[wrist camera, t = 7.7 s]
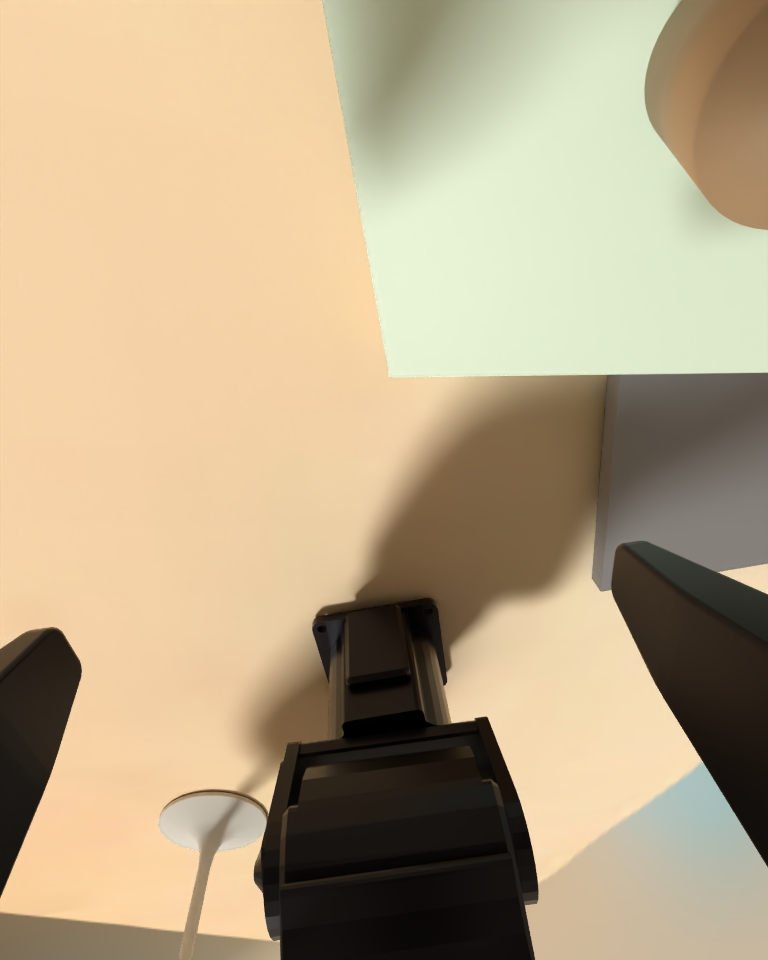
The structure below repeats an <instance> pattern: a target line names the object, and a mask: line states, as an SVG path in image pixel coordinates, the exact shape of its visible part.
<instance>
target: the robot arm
mask: <svg viewBox="0 0 768 960" xmlns="http://www.w3.org/2000/svg"><path fill="white" fill-rule="evenodd" d="M611 589H612V594H613V597H614V599H615V602H616V604H617V606H618V608H619V610H620V612H621V614H622V616H623V618H624V620H625V622H626V624H627V627H628V629H629V631H630V633H631V635H632V637H633V639H634V641H635V643H636V645H637V647H638V649H639V652H640V654H641V656H642V658H643V660H644V662H645V664H646V666H647V668H648V670H649V672H650V674H651V676H652V678H653V680H654V682H655V684H656V686H657V687H658V689H659V691H660V693H661V694H662V696H663V698H664V699H665V701H666V703H667V704H668V706H669V707H670V709H671V711H672V712H673V714H674V716H675V717H676V719H677V720H678V722H679V724H680V725H681V727H682V729H683V730H684V732H685V733H686V735H687V737H688V738H689V740H690V742H691V743H692V745H693V747H694V748H695V750H696V751H697V753H698V755H699V756H700V758H701V760H702V761H703V763H704V764H705V766H706V768H707V769H708V771H709V772H710V774H711V776H712V777H713V779H714V781H715V782H716V784H717V785H718V787H719V789H720V790H721V792H722V793H723V795H724V797H725V799H726V800H727V802H728V803H729V805H730V807H731V808H732V810H733V812H734V813H735V814H736V816H737V818H738V820H739V821H740V823H741V825H742V826H743V828H744V829H745V831H746V833H747V834H748V836H749V837H750V839H751V841H752V842H753V844H754V846H755V847H756V849H757V850H758V852H759V854H760V855H761V857H762V859H763V860H764V862H765V863H766V865H767V867H768V594H766V593H763V592H761V591H759V590H756V589H754V588H752V587H750V586H747V585H745V584H743V583H741V582H738V581H736V580H734V579H731V578H729V577H727V576H725V575H722V574H720V573H718V572H716V571H713V570H711V569H709V568H706V567H704V566H702V565H700V564H697V563H695V562H693V561H691V560H688V559H686V558H684V557H681V556H679V555H677V554H675V553H672V552H670V551H668V550H666V549H663V548H661V547H659V546H656V545H654V544H652V543H650V542H647V541H635V542H628V543H622V544H620V545H618V546H617V548H616V550H615V556H614V564H613V571H612V579H611ZM427 607H430V609H425V608H427ZM321 625H324V627H320V626H321ZM312 631H313V634H314V637H315V640H316V644H317V647H318V650H319V653H320V656H321V660H322V663H323V666H324V669H325V672H326V675H327V679H328V682H329V712H328V740H325V741H317V742H310V743H303V744H301V741H300V742H293V743H288V745H287V749H286V753H285V757H284V761H283V762H281V765H280V769H279V774H278V778H277V782H276V786H275V790H274V795H273V799H272V803H271V807H270V812H269V816H268V820H267V824H266V828H265V833H264V837H263V841H262V846H261V850H260V852H259V855H258V857H257V860H256V862H255V866H254V881H255V884H256V885H257V886H258V887H259V889H260V890H261V891H262V893H263V897H264V909H265V919H266V924H267V930H268V932H269V935H270V938H271V939H272V940H273V941H276V940H280V950H281V951H280V952H281V960H535V957H534V951H533V946H532V941H531V936H530V931H529V926H528V920H527V915H526V910H525V905H530V904H537V902H538V880H537V873H536V866H535V861H534V855H533V850H532V845H531V841H530V836H529V832H528V828H527V824H526V820H525V817H524V813H523V810H522V806H521V803H520V800H519V797H518V794H517V792H516V789H515V786H514V784H513V781H512V779H511V776H510V774H509V771H508V768H507V766H506V763H505V761H504V758H503V756H502V753H501V751H500V748H499V745H498V743H497V740H496V738H495V735H494V733H493V730H492V728H491V725H490V722H489V720H488V717H479V718H475V720H474V721H466V722H459V723H451V718H450V714H449V709H448V704H447V700H446V695H445V691H444V685H446V683H447V676H446V668H445V660H444V653H443V645H442V638H441V630H440V623H439V615H438V608H437V604H436V602H435V601H434V600H433V599H430V598H426V599H420V600H414V601H408V602H402V603H396V604H390V605H384V606H378V607H372V608H366V609H361V610H355V611H349V612H343V613H337V614H331V615H325V616H320V617H317V618H315V619H314V621H313V626H312ZM81 673H82V669H81V663H80V660H79V659H78V657H77V655H76V654H75V652H74V650H73V649H72V647H71V645H70V644H69V642H68V640H67V639H66V637H65V636H64V634H63V632H62V631H61V630H59V629H58V628H54V627H49V628H42V629H35V630H30V631H27V632H25V633H23V634H22V635H20V636H19V637H17V638H16V639H14V640H13V641H11V642H10V643H8V644H7V645H6V646H4V647H3V648H1V649H0V898H1V895H2V893H3V890H4V888H5V885H6V883H7V881H8V878H9V876H10V873H11V871H12V868H13V866H14V864H15V861H16V859H17V856H18V854H19V851H20V849H21V847H22V844H23V842H24V839H25V837H26V834H27V832H28V830H29V827H30V825H31V822H32V820H33V817H34V815H35V813H36V810H37V808H38V805H39V803H40V800H41V798H42V796H43V793H44V791H45V788H46V785H47V783H48V780H49V778H50V775H51V772H52V769H53V766H54V763H55V760H56V757H57V754H58V751H59V747H60V744H61V741H62V738H63V734H64V731H65V728H66V725H67V721H68V718H69V715H70V712H71V708H72V705H73V702H74V699H75V695H76V692H77V689H78V686H79V682H80V679H81Z"/></svg>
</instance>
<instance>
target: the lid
mask: <svg viewBox="0 0 768 960" xmlns="http://www.w3.org/2000/svg"><path fill="white" fill-rule="evenodd" d="M322 2H323V7H324V13H325V19H326V24H327V30H328V35H329V41H330V47H331V52H332V58H333V63H334V69H335V75H336V80H337V86H338V91H339V97H340V103H341V108H342V114H343V119H344V125H345V131H346V136H347V142H348V147H349V153H350V159H351V164H352V170H353V175H354V181H355V187H356V192H357V198H358V203H359V209H360V215H361V220H362V226H363V232H364V237H365V243H366V248H367V254H368V260H369V265H370V271H371V276H372V282H373V288H374V293H375V299H376V304H377V310H378V316H379V321H380V327H381V332H382V338H383V344H384V349H385V355H386V360H387V366H388V372H389V377H460V376H539V375H617V374H696V373H768V0H322Z"/></svg>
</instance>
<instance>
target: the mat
mask: <svg viewBox="0 0 768 960" xmlns="http://www.w3.org/2000/svg"><path fill="white" fill-rule="evenodd" d="M635 541H647V542H650V543H652V544H654V545H656V546H659V547H661V548H663V549H666V550H668V551H670V552H672V553H675V554H677V555H679V556H681V557H684V558H686V559H688V560H691V561H693V562H695V563H697V564H700V565H702V566H704V567H706V568H709V569H711V570H713V571H716V572H720V571H726V570H732V569H738V568H744V567H750V566H756V565H762V564H767V563H768V373H696V374H617V375H608V378H607V390H606V403H605V416H604V429H603V442H602V455H601V468H600V481H599V494H598V506H597V519H596V532H595V545H594V558H593V571H592V579H593V581H594V582H595V584H596V585H597V587H598V588H599V590H600V591H607V590H612V589H611V579H612V571H613V564H614V556H615V550H616V548H617V546H618V545H620V544H622V543H628V542H635Z"/></svg>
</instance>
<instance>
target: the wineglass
mask: <svg viewBox="0 0 768 960" xmlns="http://www.w3.org/2000/svg"><path fill="white" fill-rule="evenodd" d="M266 824H267V817H266V813H265V812H264V810H263V809H262V807H260V806H259V805H258V804H257V803H255V802H254V801H252V800H250V799H248V798H246V797H243V796H240V795H236V794H233V793H225V792H200V793H193V794H189V795H186V796H183V797H180V798H178V799H176V800H174V801H172V802H170V803H169V804H168V805H167V806H166V807H165V808H164V809H163V811H162V813H161V814H160V817H159V828H160V830H161V833H162V834H163V835H164V836H165V837H166V838H167V839H169V840H170V841H172V842H173V843H175V844H177V845H180V846H182V847H185V848H189V849H193V850H198V851H199V852H200V858H199V868H198V872H197V877H196V881H195V886H194V890H193V895H192V899H191V904H190V908H189V913H188V917H187V922H186V926H185V931H184V936H183V940H182V944H181V949H180V954H179V958H178V960H191V959H192V953H193V949H194V943H195V939H196V934H197V929H198V924H199V920H200V915H201V910H202V905H203V900H204V895H205V890H206V885H207V880H208V875H209V870H210V867H211V863H212V860H213V857H214V854H215V853H216V852H217V851H227V850H234V849H237V848H241V847H244V846H246V845H249V844H251V843H253V842H254V841H256V840H257V839H258V838H260V837H261V835H262V834H263V833H264V831H265V828H266Z"/></svg>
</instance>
